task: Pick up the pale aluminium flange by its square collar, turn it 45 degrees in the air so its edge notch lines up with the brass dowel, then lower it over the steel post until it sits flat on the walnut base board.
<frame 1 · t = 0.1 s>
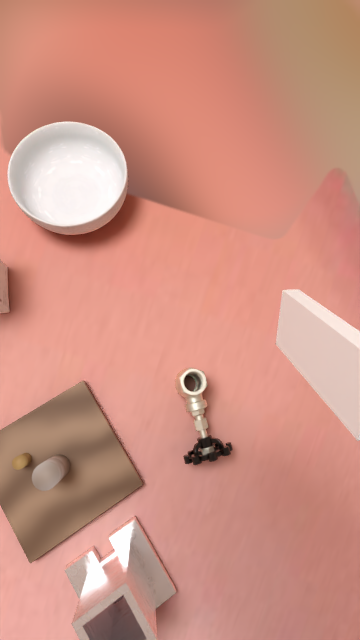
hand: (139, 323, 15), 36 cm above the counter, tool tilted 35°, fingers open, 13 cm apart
cereal bowl: (77, 199, 55), on the counter
base board: (60, 464, 46), on the counter
flange: (121, 575, 44), on the counter
valve: (193, 410, 50), on the counter
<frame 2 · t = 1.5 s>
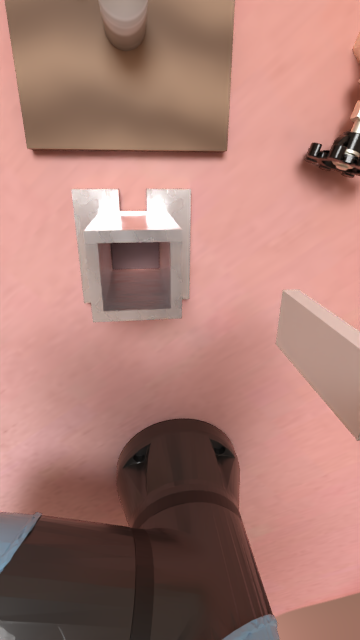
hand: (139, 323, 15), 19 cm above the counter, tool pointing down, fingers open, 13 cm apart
base board: (125, 33, 26), on the counter
flange: (135, 245, 32), on the counter
valve: (350, 97, 30), on the counter
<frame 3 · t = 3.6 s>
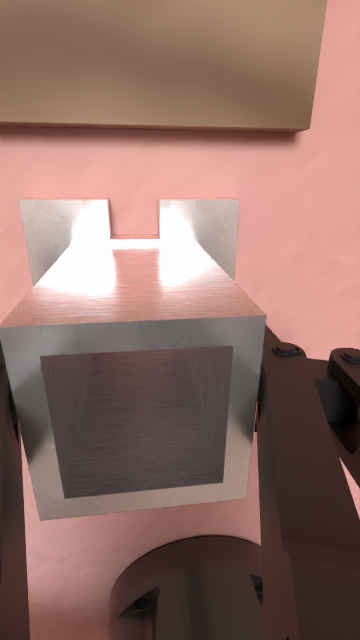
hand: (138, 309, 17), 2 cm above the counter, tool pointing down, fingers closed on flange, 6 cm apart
flange: (137, 293, 19), on the counter, touching gripper
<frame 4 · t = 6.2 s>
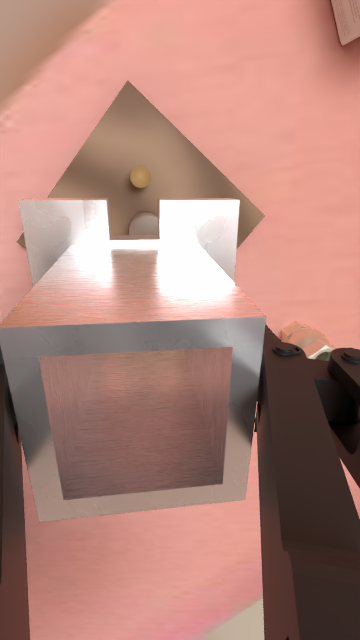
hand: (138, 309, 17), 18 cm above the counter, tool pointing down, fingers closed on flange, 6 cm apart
base board: (144, 226, 32), on the counter
flange: (137, 294, 19), point 15 cm above the counter, touching gripper
valve: (265, 353, 40), on the counter
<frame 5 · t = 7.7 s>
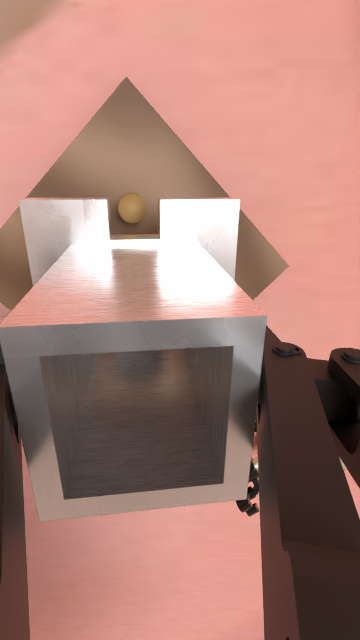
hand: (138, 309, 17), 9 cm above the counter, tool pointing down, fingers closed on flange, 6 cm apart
base board: (134, 265, 25), on the counter
flange: (137, 293, 19), point 7 cm above the counter, touching gripper
valve: (273, 420, 33), on the counter
when the fingers open (5 cm above the counter, at t = 8.8 s): flange drops 1 cm, resting on base board.
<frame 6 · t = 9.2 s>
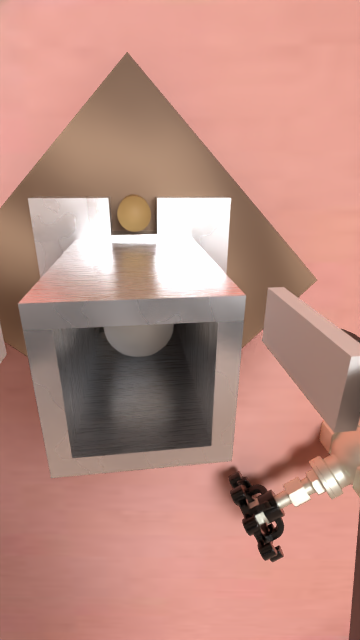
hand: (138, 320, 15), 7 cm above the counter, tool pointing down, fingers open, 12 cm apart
base board: (137, 278, 22), on the counter
flange: (136, 285, 20), point 1 cm above the counter, touching base board
valve: (296, 448, 30), on the counter
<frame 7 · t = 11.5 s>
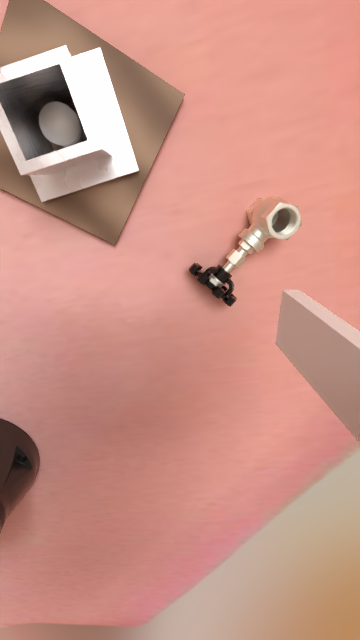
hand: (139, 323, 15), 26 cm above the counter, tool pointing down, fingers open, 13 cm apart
base board: (74, 133, 34), on the counter
flange: (71, 131, 33), point 1 cm above the counter, touching base board
valve: (238, 240, 40), on the counter
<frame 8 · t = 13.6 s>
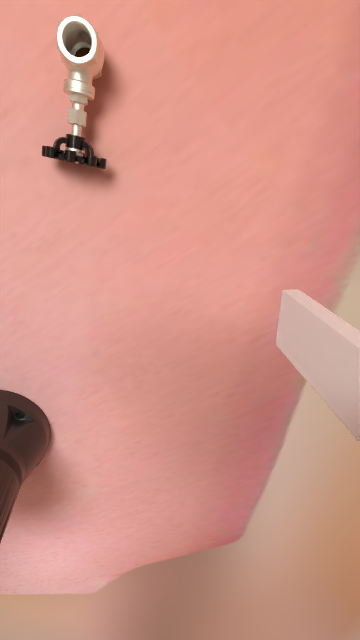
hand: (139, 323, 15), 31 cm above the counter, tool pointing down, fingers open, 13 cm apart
valve: (83, 105, 38), on the counter
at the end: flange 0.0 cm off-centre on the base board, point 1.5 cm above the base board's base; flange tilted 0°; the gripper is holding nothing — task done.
